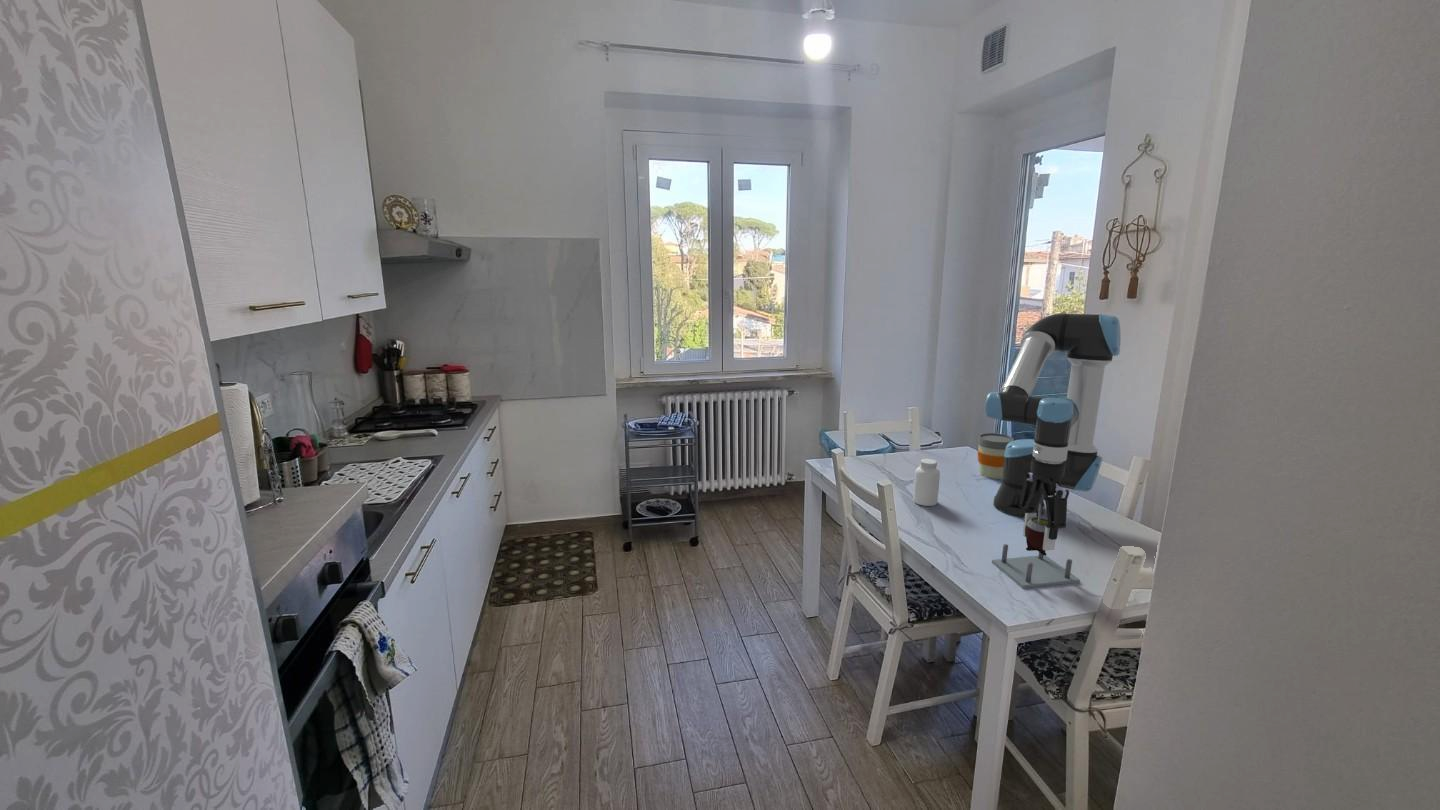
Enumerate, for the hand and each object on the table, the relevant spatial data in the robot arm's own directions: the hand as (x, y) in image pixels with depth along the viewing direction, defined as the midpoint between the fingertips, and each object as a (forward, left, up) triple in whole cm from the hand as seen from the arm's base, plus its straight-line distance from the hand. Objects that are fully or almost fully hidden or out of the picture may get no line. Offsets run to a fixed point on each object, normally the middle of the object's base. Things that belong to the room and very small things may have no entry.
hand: (1038, 542), depth 150 cm
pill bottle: (+6, -48, -9) cm, 49 cm away
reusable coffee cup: (-32, -68, -9) cm, 76 cm away
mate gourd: (0, 0, -2) cm, 2 cm away
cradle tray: (0, 0, -9) cm, 9 cm away
